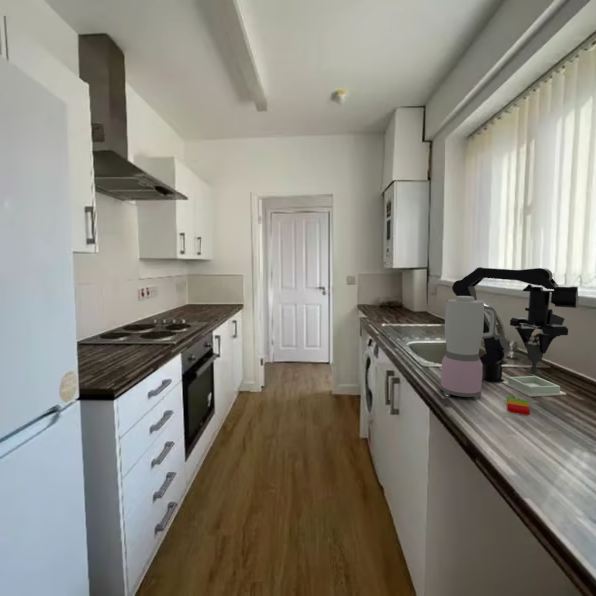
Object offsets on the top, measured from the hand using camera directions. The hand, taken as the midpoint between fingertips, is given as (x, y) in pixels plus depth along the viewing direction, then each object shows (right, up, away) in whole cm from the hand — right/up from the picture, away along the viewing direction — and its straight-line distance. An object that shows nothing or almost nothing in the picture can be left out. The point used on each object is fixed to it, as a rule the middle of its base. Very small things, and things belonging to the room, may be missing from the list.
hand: (535, 350), depth 122 cm
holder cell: (0, -13, +1) cm, 13 cm away
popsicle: (-14, -15, -13) cm, 24 cm away
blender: (-26, -14, -4) cm, 29 cm away
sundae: (0, -8, +1) cm, 8 cm away
